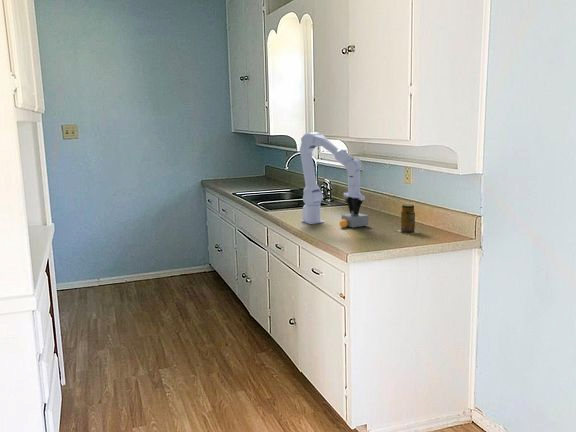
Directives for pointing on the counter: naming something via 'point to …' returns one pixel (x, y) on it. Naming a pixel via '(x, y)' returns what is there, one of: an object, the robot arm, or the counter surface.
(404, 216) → the condiment
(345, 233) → the counter surface
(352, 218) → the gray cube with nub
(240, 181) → the counter surface
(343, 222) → the ball
